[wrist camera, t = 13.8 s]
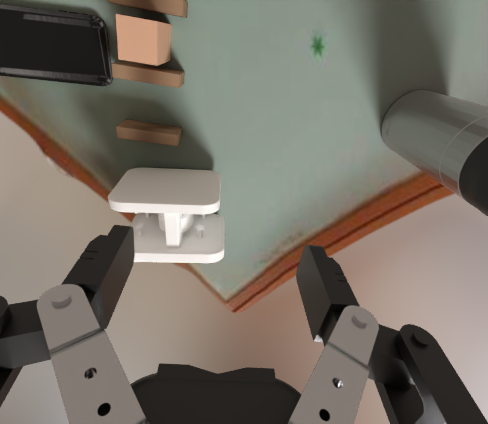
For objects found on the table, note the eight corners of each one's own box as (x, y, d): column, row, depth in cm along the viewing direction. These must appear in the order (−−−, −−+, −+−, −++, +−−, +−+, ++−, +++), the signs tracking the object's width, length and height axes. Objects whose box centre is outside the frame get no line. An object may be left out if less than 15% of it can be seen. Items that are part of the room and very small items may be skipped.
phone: (112, 87, 38) (-10, 74, 37) (114, 85, 39) (-4, 73, 38) (103, 16, 34) (-34, -2, 33) (106, 16, 35) (-27, -1, 33)
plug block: (171, 24, 35) (157, 21, 29) (170, 60, 37) (157, 65, 31) (137, 18, 35) (115, 13, 28) (138, 55, 37) (118, 59, 30)
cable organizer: (226, 168, 46) (226, 204, 36) (224, 223, 51) (223, 267, 41) (130, 164, 45) (102, 200, 35) (138, 220, 50) (117, 265, 40)
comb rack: (187, 2, 34) (183, -1, 31) (181, 137, 43) (177, 146, 39) (118, -11, 33) (105, -17, 30) (126, 129, 42) (116, 137, 38)
